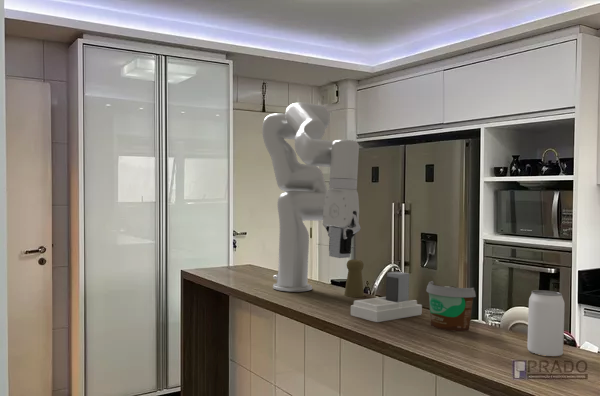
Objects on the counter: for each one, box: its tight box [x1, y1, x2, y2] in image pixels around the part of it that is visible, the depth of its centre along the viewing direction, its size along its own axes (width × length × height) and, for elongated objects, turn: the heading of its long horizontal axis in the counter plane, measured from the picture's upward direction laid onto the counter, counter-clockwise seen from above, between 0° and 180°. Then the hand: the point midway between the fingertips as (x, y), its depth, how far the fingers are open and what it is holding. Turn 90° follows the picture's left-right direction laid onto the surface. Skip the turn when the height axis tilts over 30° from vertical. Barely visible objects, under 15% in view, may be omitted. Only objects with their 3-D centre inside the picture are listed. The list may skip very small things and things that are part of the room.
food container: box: [425, 280, 477, 332], centre depth 124 cm, size 12×6×10 cm, turn 40°
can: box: [526, 289, 565, 357], centre depth 106 cm, size 6×6×12 cm
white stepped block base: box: [350, 271, 423, 323], centre depth 136 cm, size 9×17×10 cm, turn 129°
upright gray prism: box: [328, 227, 353, 259], centre depth 145 cm, size 4×4×8 cm
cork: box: [343, 258, 365, 298], centre depth 163 cm, size 6×6×11 cm
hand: (339, 251), depth 145 cm, fingers closed on upright gray prism, 4 cm apart
